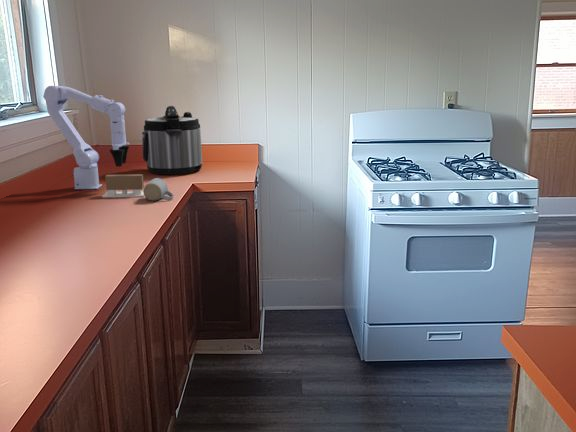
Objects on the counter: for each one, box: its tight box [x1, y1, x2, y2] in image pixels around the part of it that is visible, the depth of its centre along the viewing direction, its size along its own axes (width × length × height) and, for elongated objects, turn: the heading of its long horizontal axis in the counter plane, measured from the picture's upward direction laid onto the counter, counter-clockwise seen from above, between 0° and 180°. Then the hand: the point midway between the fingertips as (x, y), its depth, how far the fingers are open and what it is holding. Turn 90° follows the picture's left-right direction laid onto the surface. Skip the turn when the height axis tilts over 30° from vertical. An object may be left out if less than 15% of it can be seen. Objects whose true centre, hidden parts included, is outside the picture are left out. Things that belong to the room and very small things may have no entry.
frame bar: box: [104, 173, 145, 191], centre depth 216 cm, size 14×3×6 cm, turn 94°
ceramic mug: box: [143, 177, 175, 202], centre depth 209 cm, size 11×8×8 cm
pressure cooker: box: [141, 105, 203, 175], centre depth 266 cm, size 30×28×32 cm
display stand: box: [101, 189, 145, 199], centre depth 217 cm, size 16×8×2 cm, turn 94°
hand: (121, 164), depth 228 cm, fingers open, 7 cm apart
